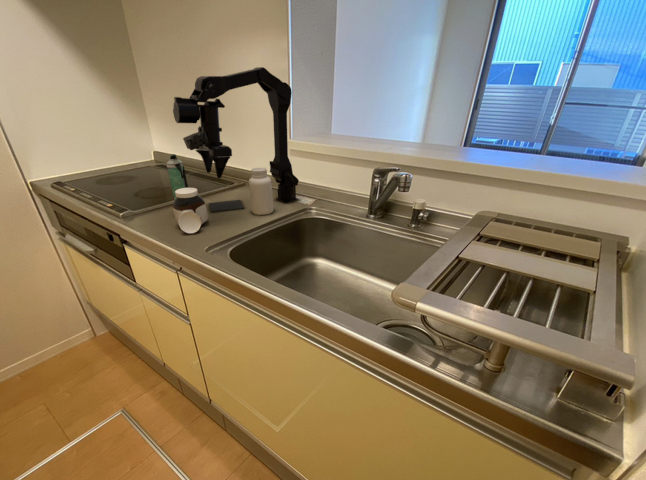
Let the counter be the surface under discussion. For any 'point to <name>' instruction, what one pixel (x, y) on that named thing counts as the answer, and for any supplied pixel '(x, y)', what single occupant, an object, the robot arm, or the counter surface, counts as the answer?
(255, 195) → the pill bottle
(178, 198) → the spread jar
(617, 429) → the counter surface
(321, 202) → the counter surface
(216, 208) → the mat
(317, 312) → the counter surface
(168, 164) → the spray can
